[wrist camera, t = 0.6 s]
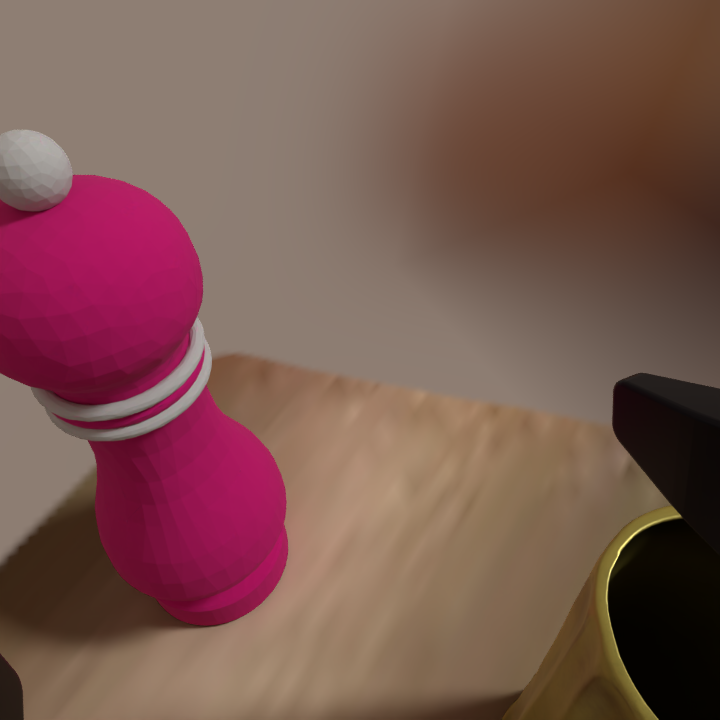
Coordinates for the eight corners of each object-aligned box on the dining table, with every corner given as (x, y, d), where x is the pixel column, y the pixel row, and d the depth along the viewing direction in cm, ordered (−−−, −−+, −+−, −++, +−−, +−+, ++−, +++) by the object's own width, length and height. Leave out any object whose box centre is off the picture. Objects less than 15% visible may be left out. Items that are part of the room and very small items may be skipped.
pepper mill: (105, 580, 27) (-246, 169, 12) (216, 464, 31) (48, 50, 16) (224, 675, 24) (-56, 279, 9) (331, 532, 28) (248, 100, 13)
